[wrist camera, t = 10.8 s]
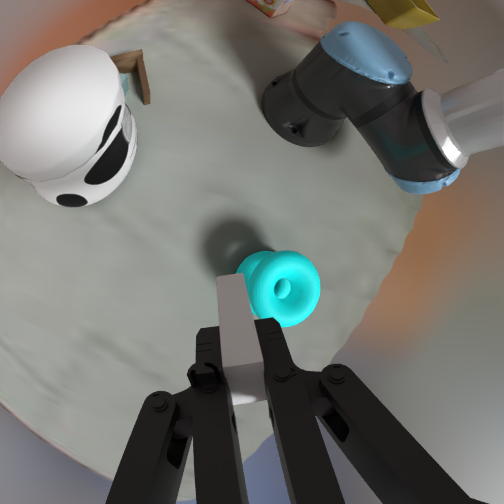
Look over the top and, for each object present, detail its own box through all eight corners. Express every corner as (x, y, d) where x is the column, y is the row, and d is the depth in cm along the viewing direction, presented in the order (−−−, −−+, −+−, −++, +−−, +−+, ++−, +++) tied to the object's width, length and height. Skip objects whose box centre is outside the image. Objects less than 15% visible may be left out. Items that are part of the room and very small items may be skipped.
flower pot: (412, 38, 63) (441, 20, 47) (385, 31, 57) (417, 8, 41) (385, 3, 60) (410, -17, 44) (355, -6, 55) (382, -31, 39)
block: (128, 88, 36) (127, 74, 32) (119, 110, 36) (116, 96, 31) (105, 86, 34) (101, 71, 30) (95, 107, 34) (90, 94, 30)
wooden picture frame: (142, 64, 36) (141, 49, 32) (150, 103, 37) (150, 89, 33) (20, 109, 29) (11, 98, 25) (20, 152, 30) (9, 143, 26)
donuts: (252, 251, 32) (324, 250, 35) (231, 251, 42) (290, 250, 45) (253, 334, 32) (323, 324, 35) (232, 316, 42) (290, 310, 45)
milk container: (23, 167, 30) (-34, 127, 13) (95, 91, 34) (75, 20, 17) (85, 235, 35) (33, 223, 17) (162, 149, 38) (166, 84, 21)
